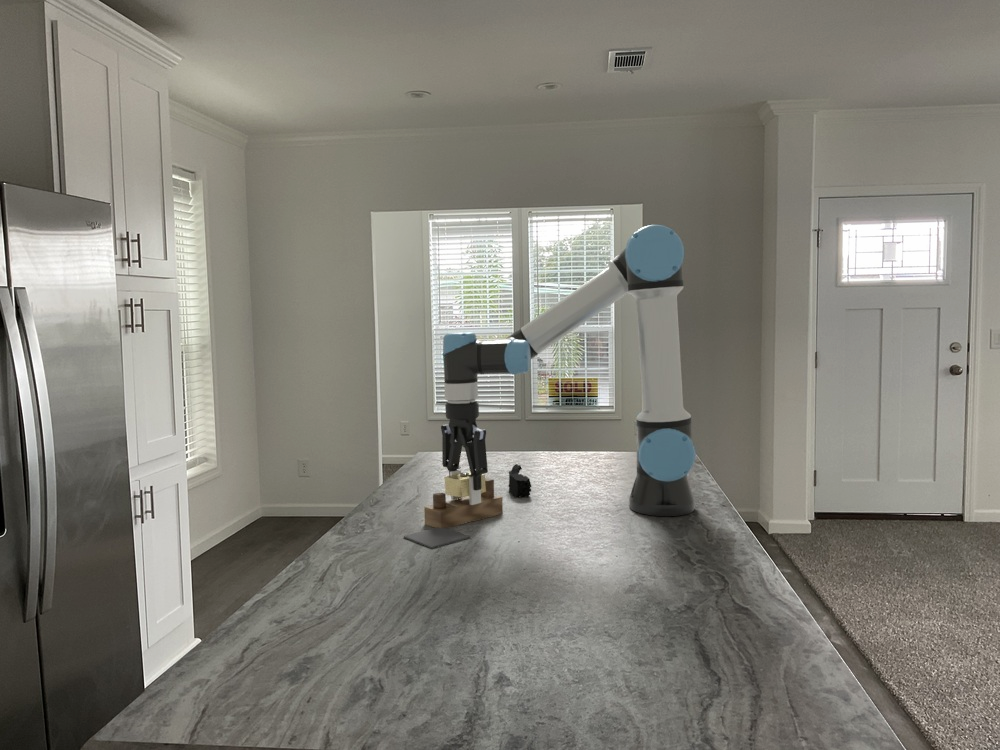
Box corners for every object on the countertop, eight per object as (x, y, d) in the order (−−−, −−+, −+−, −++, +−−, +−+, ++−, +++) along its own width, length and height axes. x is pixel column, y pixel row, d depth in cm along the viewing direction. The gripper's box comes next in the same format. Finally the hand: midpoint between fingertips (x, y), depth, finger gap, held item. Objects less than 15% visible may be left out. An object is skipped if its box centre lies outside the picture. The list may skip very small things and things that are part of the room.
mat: (470, 538, 155) (470, 536, 155) (431, 548, 149) (431, 546, 149) (441, 527, 163) (441, 526, 163) (403, 537, 156) (403, 535, 156)
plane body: (486, 508, 178) (485, 475, 177) (502, 513, 173) (502, 480, 172) (424, 524, 166) (423, 489, 165) (440, 529, 161) (440, 493, 161)
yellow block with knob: (469, 488, 174) (468, 469, 173) (485, 491, 169) (484, 471, 169) (445, 494, 169) (444, 474, 169) (461, 497, 165) (460, 477, 164)
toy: (532, 498, 187) (531, 472, 186) (512, 499, 186) (512, 473, 185) (521, 485, 202) (521, 461, 201) (503, 486, 201) (503, 462, 201)
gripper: (502, 402, 162) (505, 505, 165) (449, 396, 177) (453, 491, 179) (475, 406, 158) (480, 512, 160) (423, 399, 172) (428, 497, 174)
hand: (465, 500), depth 169 cm, fingers closed on yellow block with knob, 6 cm apart
